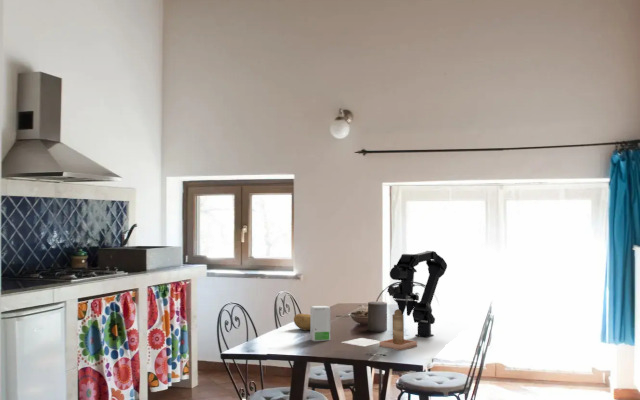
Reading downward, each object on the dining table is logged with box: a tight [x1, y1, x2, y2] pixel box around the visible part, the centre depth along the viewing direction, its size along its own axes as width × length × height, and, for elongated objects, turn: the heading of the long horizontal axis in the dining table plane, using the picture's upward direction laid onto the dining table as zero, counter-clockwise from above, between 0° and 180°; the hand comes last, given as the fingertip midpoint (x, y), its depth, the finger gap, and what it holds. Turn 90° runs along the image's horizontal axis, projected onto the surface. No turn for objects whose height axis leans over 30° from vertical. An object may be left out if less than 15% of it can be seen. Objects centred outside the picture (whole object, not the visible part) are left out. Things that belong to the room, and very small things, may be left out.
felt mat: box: [341, 337, 382, 348], centre depth 292 cm, size 14×14×1 cm
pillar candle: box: [367, 301, 388, 333], centre depth 325 cm, size 10×10×15 cm
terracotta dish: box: [379, 338, 418, 351], centre depth 283 cm, size 12×12×2 cm
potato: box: [293, 313, 311, 331], centre depth 327 cm, size 10×14×8 cm
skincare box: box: [309, 305, 331, 342], centre depth 300 cm, size 8×7×16 cm
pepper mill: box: [391, 308, 405, 345], centre depth 283 cm, size 5×5×15 cm
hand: (404, 315), depth 296 cm, fingers open, 9 cm apart
